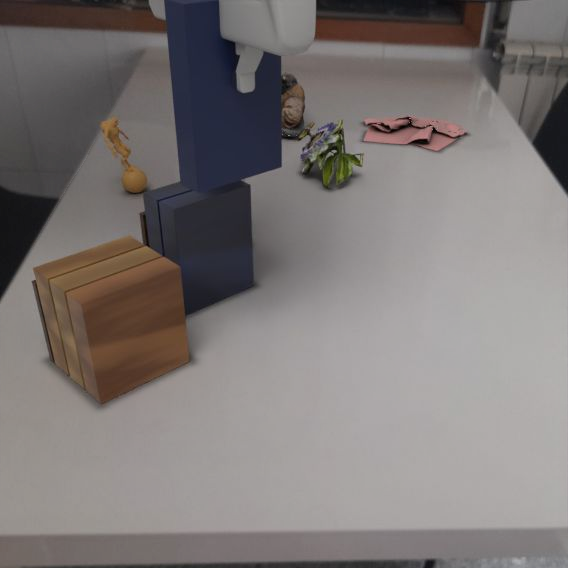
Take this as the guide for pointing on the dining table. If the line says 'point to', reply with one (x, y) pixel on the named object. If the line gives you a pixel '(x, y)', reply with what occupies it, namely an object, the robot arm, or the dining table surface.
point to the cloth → (413, 132)
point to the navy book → (219, 102)
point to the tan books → (113, 316)
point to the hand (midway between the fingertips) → (228, 85)
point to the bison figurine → (292, 106)
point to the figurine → (131, 176)
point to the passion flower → (326, 143)
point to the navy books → (202, 238)
